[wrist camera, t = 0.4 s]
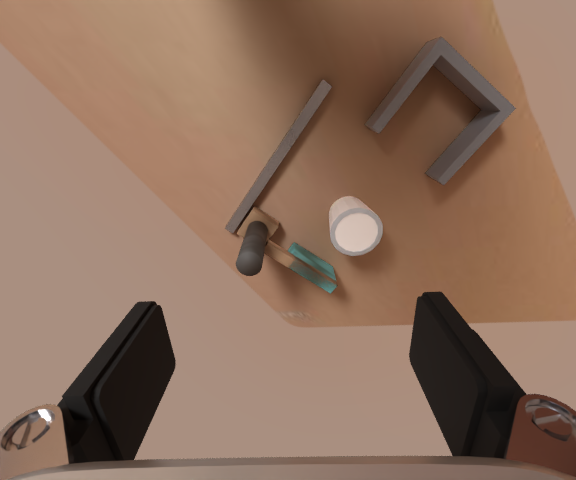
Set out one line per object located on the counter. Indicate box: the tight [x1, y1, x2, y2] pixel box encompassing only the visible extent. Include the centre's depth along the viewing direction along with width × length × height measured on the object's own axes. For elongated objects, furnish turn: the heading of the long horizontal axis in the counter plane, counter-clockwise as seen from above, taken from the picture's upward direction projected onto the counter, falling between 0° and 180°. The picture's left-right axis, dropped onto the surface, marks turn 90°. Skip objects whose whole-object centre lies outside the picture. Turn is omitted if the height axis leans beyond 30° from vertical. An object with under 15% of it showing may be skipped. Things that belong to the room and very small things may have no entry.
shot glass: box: [329, 196, 383, 256], centre depth 43 cm, size 7×7×7 cm
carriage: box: [236, 206, 337, 293], centre depth 42 cm, size 16×4×12 cm, turn 55°
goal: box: [365, 37, 516, 185], centre depth 38 cm, size 12×11×4 cm
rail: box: [225, 80, 332, 233], centre depth 42 cm, size 1×24×1 cm, turn 145°
